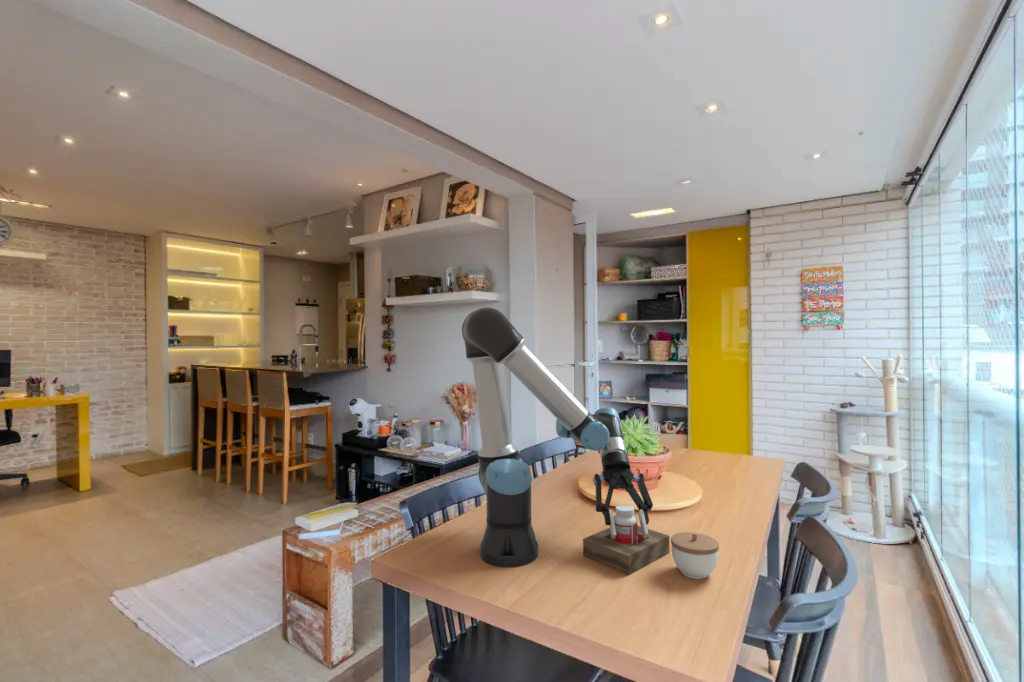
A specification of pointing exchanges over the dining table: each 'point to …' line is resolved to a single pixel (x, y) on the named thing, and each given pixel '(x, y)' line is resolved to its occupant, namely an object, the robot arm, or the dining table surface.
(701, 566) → the lidded jar
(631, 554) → the socket block
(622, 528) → the pill bottle
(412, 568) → the dining table surface
